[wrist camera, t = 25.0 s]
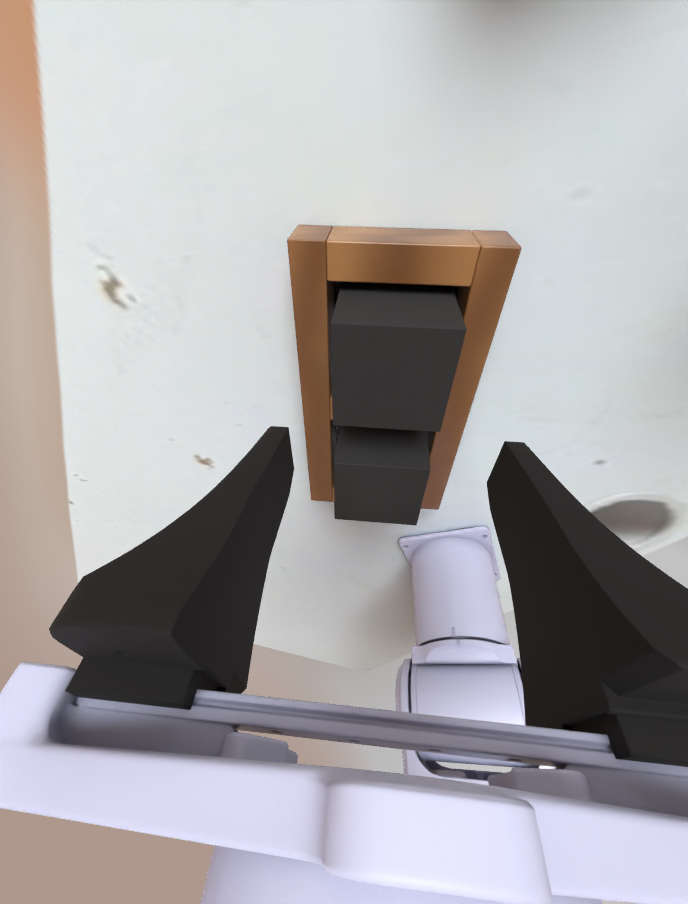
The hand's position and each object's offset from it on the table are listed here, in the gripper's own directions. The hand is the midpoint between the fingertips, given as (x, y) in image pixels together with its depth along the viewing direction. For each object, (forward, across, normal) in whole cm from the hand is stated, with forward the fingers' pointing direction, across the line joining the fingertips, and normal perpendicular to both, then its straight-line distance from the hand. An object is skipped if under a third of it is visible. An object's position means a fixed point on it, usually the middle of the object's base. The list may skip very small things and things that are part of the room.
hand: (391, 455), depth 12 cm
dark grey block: (+10, 0, +8) cm, 13 cm away
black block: (+10, 0, 0) cm, 10 cm away
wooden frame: (+10, 0, +4) cm, 11 cm away
